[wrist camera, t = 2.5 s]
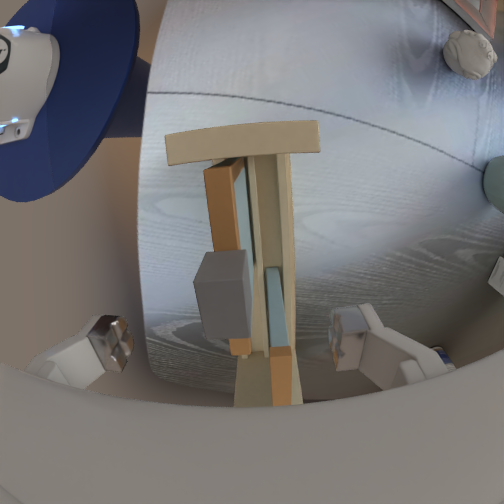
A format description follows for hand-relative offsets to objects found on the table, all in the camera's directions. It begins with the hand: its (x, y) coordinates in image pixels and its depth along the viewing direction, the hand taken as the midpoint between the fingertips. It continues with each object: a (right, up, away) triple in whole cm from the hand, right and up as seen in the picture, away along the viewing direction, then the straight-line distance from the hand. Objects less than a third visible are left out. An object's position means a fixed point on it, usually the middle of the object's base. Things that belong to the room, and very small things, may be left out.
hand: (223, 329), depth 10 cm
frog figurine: (+25, +26, +9) cm, 37 cm away
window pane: (0, +7, +15) cm, 17 cm away
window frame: (+2, +2, +19) cm, 19 cm away
